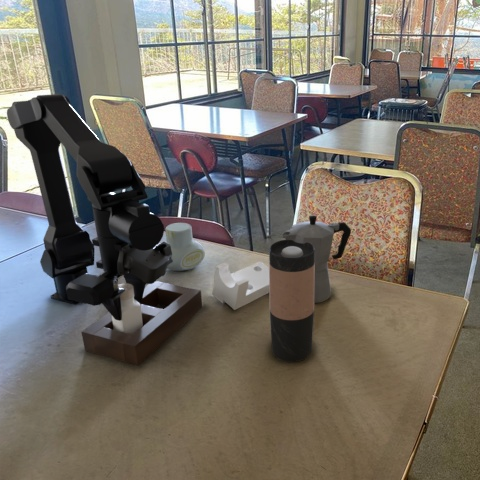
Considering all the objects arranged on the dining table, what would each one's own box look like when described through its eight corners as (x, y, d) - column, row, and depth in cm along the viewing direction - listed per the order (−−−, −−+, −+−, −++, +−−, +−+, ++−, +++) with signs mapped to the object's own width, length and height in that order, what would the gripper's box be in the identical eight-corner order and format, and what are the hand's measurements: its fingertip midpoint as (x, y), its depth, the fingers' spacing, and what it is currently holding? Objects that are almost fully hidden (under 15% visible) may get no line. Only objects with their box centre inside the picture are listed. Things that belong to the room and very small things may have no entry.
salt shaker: (133, 325, 89) (127, 279, 86) (145, 333, 87) (140, 287, 83) (112, 333, 86) (106, 287, 83) (124, 342, 84) (118, 295, 81)
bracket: (233, 313, 98) (238, 285, 94) (212, 294, 101) (216, 266, 97) (279, 290, 107) (285, 263, 103) (257, 273, 110) (263, 246, 106)
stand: (84, 350, 84) (81, 331, 82) (156, 297, 101) (154, 280, 100) (138, 365, 81) (135, 345, 79) (202, 307, 98) (200, 290, 96)
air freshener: (188, 253, 121) (185, 216, 117) (211, 262, 117) (208, 224, 113) (152, 268, 113) (147, 229, 109) (174, 279, 109) (170, 238, 105)
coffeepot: (289, 309, 98) (290, 227, 91) (275, 288, 106) (274, 211, 99) (356, 296, 104) (362, 218, 97) (338, 276, 112) (342, 203, 105)
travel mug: (280, 368, 81) (279, 261, 73) (264, 343, 87) (261, 243, 79) (320, 355, 84) (323, 253, 76) (301, 333, 91) (303, 235, 83)
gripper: (116, 263, 68) (130, 353, 74) (190, 219, 84) (196, 296, 91) (55, 250, 71) (73, 337, 78) (137, 210, 88) (147, 285, 94)
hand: (128, 312), depth 85 cm, fingers closed on salt shaker, 5 cm apart
